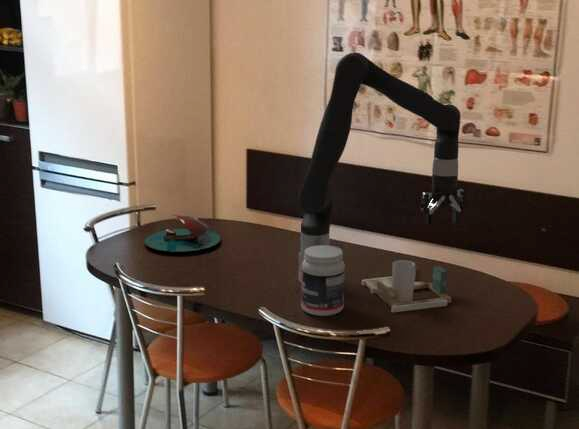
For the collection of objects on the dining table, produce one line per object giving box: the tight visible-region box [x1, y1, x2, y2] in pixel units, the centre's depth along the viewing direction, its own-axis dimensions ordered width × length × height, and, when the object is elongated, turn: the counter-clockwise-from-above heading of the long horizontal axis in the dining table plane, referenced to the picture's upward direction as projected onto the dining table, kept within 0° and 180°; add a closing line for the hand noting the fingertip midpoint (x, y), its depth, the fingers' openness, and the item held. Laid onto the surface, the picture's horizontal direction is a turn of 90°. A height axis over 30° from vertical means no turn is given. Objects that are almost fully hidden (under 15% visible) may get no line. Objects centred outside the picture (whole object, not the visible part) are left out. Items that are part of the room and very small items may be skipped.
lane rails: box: [361, 276, 448, 313], centre depth 252 cm, size 18×24×2 cm
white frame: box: [374, 265, 452, 307], centre depth 248 cm, size 19×14×8 cm
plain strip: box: [364, 265, 421, 291], centre depth 259 cm, size 17×5×5 cm, turn 107°
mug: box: [391, 259, 416, 303], centre depth 247 cm, size 10×7×12 cm, turn 139°
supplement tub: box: [300, 245, 346, 317], centre depth 238 cm, size 13×13×18 cm
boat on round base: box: [144, 214, 221, 252], centre depth 299 cm, size 28×28×11 cm
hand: (442, 224), depth 245 cm, fingers open, 8 cm apart
